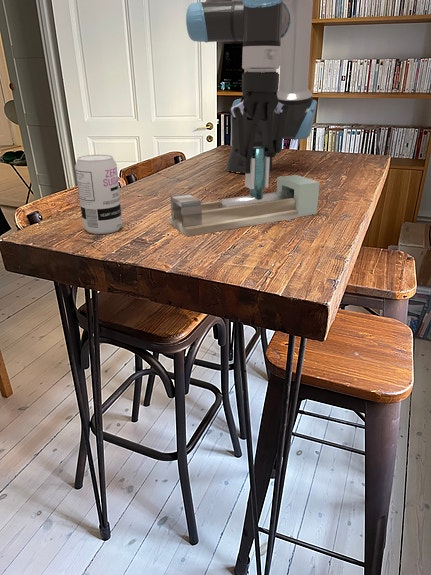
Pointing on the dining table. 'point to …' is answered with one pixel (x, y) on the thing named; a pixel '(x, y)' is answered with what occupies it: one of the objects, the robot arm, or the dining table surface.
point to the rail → (225, 214)
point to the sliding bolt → (257, 186)
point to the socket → (301, 193)
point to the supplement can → (99, 193)
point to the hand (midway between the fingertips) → (256, 186)
